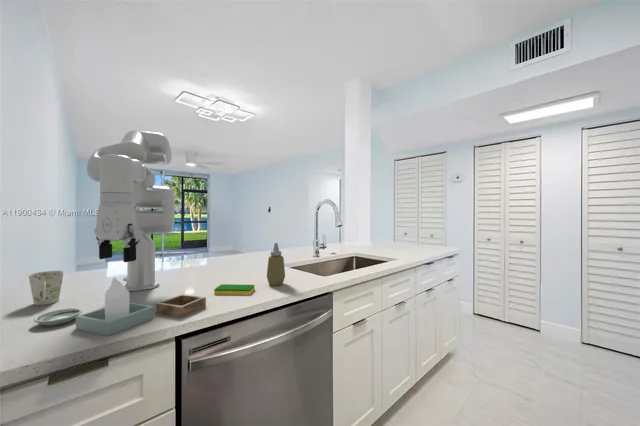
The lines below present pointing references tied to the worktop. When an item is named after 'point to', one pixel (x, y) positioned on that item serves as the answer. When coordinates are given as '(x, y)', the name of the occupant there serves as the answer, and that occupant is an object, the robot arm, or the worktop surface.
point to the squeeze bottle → (275, 267)
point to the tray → (100, 326)
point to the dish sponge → (234, 289)
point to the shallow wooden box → (174, 309)
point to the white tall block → (116, 301)
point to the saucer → (57, 316)
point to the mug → (46, 287)
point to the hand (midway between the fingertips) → (117, 259)
